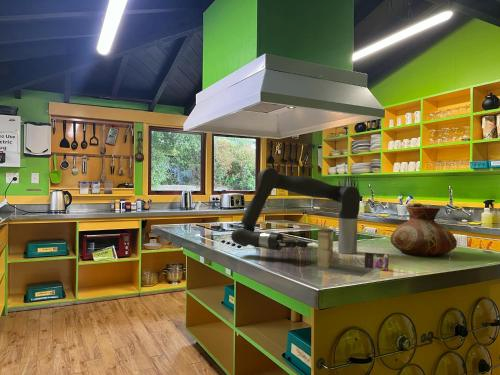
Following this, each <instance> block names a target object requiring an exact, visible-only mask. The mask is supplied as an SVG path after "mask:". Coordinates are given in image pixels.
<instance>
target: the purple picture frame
mask: <svg viewBox="0 0 500 375" xmlns="http://www.w3.org/2000/svg"><path fill="white" fill-rule="evenodd" d="M374 255H375V256H376V258H377V259H376V258H375V261H374V257H375V256H374ZM382 258H384V259H382ZM389 258H390V256H389V254H388V253H377V252H376V253H375V252H364V267H366V268H373V269H374V267H375V268H378V269H379V268H381V267H383V266H384V267H383V269H379V271H383V272H389Z"/></svg>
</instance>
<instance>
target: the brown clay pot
mask: <svg viewBox="0 0 500 375" xmlns="http://www.w3.org/2000/svg"><path fill="white" fill-rule="evenodd" d="M405 209H406V210H407V212H408V214H409V218H410V219H409V220H408V221H406V222H403V223H402V224H400V225H398V226H397V227H396V228H394V230H393V232H392V234H391V235H390V238H389V239H390V243H391V244H392V245H393V247H394V248H396V249H397V250H399V252H401V253H403V254H405V255H410V256H417V257H429V258H431V257H441V256H443V255H446V254H448V253H450V252H452V251H454V250H455V249H457V245H458V241H457V239H456V237H455V236H454V234H453V233H452V232H451V231H450V230H449V229H447V228H446V227H444V226H443V225H441V224H439V223H437V222H436V221H435V219H436V217H437V215H438V213H439V212H440V211H441V208H440V207H434V206H425V205H424V204H422V203H421V202H414V203H412V205H406V207H405Z"/></svg>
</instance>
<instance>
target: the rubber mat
mask: <svg viewBox="0 0 500 375" xmlns="http://www.w3.org/2000/svg"><path fill="white" fill-rule="evenodd" d="M303 269H307V270H308V269H309V270H316V271H323V272H329V273H335V274H342V275H348V276H355V277H363V276H365V275H368V274H369V273H370V272H372V271H373V270H374V267H373V268H366V267H365V266H357V265H351V264H350V265H349V264H343V263H337V262H336V263H335V262H333V266H331V267H328V268H322V267H318V261H316V262H314V263H311V264H309V265H307V266H303Z"/></svg>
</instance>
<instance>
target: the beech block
mask: <svg viewBox="0 0 500 375" xmlns="http://www.w3.org/2000/svg"><path fill="white" fill-rule="evenodd" d="M317 232H318V233H317V262H318V267H322V268H328V267H331V266H333V263H334V260H333V259H334V257H333V256H334V229H333V228H320V229H318V231H317Z"/></svg>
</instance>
